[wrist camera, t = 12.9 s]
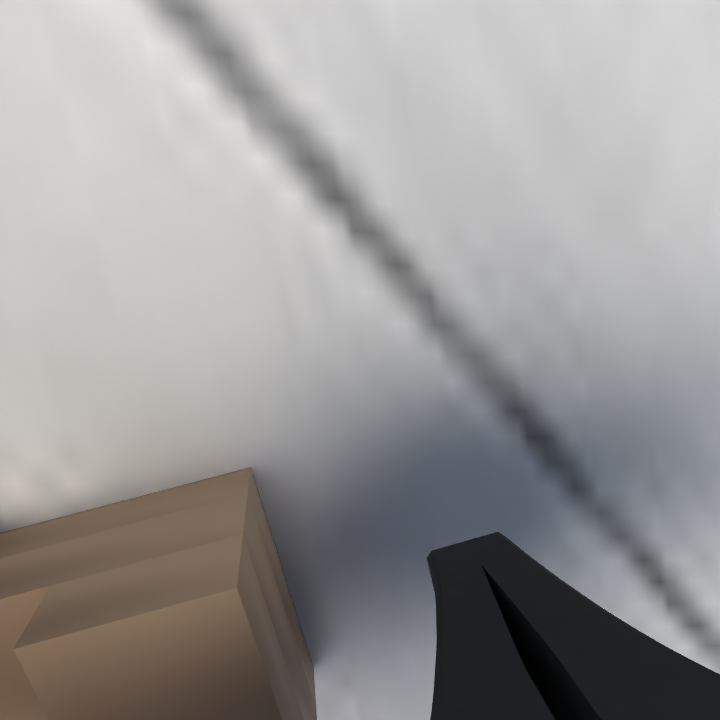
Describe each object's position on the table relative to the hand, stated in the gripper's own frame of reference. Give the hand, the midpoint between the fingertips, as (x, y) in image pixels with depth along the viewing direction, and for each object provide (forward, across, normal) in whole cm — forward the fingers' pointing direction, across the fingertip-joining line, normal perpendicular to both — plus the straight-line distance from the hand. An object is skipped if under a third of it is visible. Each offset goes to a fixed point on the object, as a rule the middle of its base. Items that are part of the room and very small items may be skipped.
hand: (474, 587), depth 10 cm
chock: (+2, +8, 0) cm, 8 cm away
